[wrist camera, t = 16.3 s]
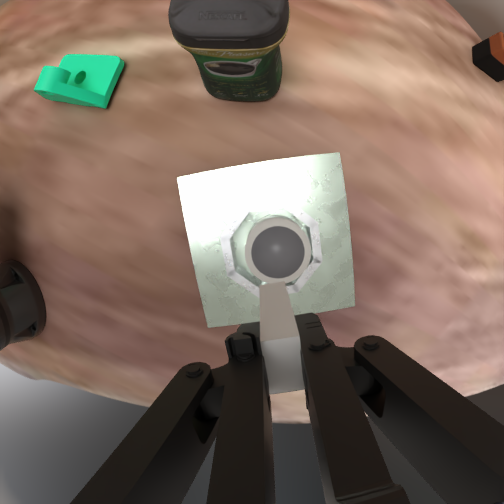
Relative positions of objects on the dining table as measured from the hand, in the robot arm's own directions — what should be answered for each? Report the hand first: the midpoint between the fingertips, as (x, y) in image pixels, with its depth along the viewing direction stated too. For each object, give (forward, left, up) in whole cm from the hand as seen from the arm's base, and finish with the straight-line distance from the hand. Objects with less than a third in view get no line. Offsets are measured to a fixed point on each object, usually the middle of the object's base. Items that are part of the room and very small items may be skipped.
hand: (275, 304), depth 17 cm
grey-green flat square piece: (0, 0, -20) cm, 20 cm away
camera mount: (-22, +28, -20) cm, 41 cm away
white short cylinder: (+1, 0, -19) cm, 19 cm away
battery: (+43, +26, -20) cm, 54 cm away
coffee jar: (0, +22, -20) cm, 30 cm away
